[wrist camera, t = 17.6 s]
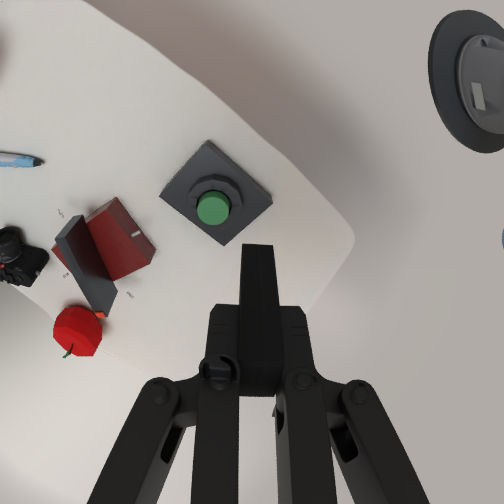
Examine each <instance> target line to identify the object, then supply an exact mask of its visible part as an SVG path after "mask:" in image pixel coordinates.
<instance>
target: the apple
mask: <svg viewBox="0 0 504 504" xmlns="http://www.w3.org/2000/svg"><path fill="white" fill-rule="evenodd" d="M53 337H54V339H55V340H56V341H57V342H58V343H59V344H60V345H61V346H62V347H63V348H64V349H65V350H67V354H66V355H65V356H63V358H66V356H68V355H70V354H71V353H72V354H74V355H76V356H93V355H94V353H95V351H96V349H97V348H98V346H99V344H100V342H101V340H102V326H101V324H100V323H99V322H98V320H97V319H96V317H95V316H94V314H93V313H92V311H89V310H87V309H85V308H83V307H78V306H77V307H69V308H65V309H64V310H63V311H62V312H61V313H60V314H59V315H58V316H57V318H56V321H55V324H54V328H53Z"/></svg>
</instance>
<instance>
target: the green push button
mask: <svg viewBox="0 0 504 504" xmlns="http://www.w3.org/2000/svg"><path fill="white" fill-rule="evenodd" d="M197 213H198V216H199V218H200V219H201V220H202V221H203V222H204V223H206V224H210V225H218V224H220V223H222V222H224V221H225V220H226V219H227V217H228V214H229V200H228V198H227V197H226V196H225V195H224V194H223V193H221V192H218V191H209V192H207V193H205V194H204V195H202V197H201V198H200V201H199V204H198V208H197Z"/></svg>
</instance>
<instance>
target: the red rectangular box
mask: <svg viewBox="0 0 504 504" xmlns="http://www.w3.org/2000/svg"><path fill="white" fill-rule="evenodd" d="M57 211H58V212H59V214H60V215H61V216H62V217H64V215H63V213H62V212H61V211H60V209H58V210H57ZM85 221H86V223H87V226H88V228H89V231H90V233H91V235H92V238H93V240H94V242H95V245H96V247H97V249H98V251H99V254H100V256H101V258H102V260H103V262H104V264H105V266H106V269H107V271H108V273H109V275H110V277H111V279H112V281H115V280H117V279H119V278H121V277H124V276H126V275H128V274H130V273H132V272H134V271H136V270H138V269H140V268H142V267H144V266H146V265H149V264H150V263H151V260H152V257H153V255H154V252H155V250H156V249H155V248H154V247H153V245H152V244H151V243H150V241H149V240H148V239H147V238H146V236H145V235H144V234H143V232H142V231H141V230H140V228H139V227H138V226H137V225H136V223H135V222H134V221H133V219H132V218H131V217H130V215H129V214H128V213H127V211H126V210H125V209H124V207H123V206H122V204H121V203H120V202H119V200H118V199H117V198H116V197H115V198H114V199H112V200H111V201H109V202H108V203H106V204H105V205H103V206H102V207H101V208H99V209H98V210H96V211H95V212H93V213H92V214H91V215H89V216H88V217H87V218H85ZM51 250H52V251H53V253H54V254H55V255H56V256H57V257H58V258H59V260H60V261H61V262H62V263H63V264H64V265H65V266H66V268H67V269H68V270H69V271H70V269H69V267H68V265H67V263H66V261H65V259H64V257H63V255H62V253H61V251H60V249H59V247H58V245H57V243H56V244H55V245H54V246H53V247H52V249H51ZM70 272H71V271H70ZM71 273H72V272H71ZM68 275H69V274H68V273H66V274H65V275H63V277H66V276H68ZM127 293H128V294H129V296H130V297H131V298H134V297H133V296H132V294H131V293H130V292H129V291H128V292H127Z"/></svg>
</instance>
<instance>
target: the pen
mask: <svg viewBox="0 0 504 504" xmlns="http://www.w3.org/2000/svg"><path fill="white" fill-rule="evenodd" d="M42 164H43V163H42V161H40V160H37V159H35V158H32V157H29V156H22V155H14V154H6V153H0V166H1V167H15V168H17V167H35V166H40V165H42Z"/></svg>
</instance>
